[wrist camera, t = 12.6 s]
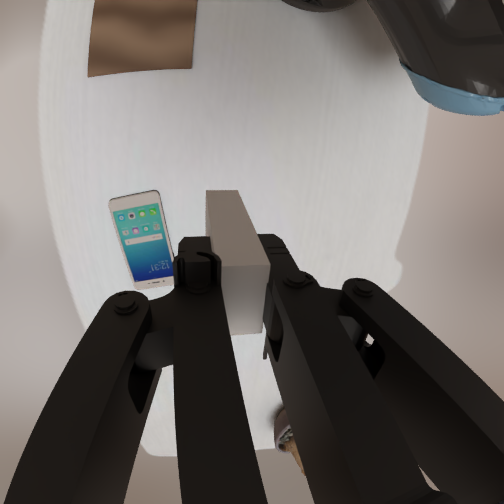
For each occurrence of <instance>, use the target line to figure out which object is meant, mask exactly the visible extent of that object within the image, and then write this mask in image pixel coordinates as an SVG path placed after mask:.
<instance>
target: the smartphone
mask: <svg viewBox="0 0 504 504" xmlns="http://www.w3.org/2000/svg"><path fill="white" fill-rule="evenodd" d="M109 209H110V213H111V217H112V220H113V223H114V227H115V230H116V234H117V237H118V240H119V243H120V246H121V250H122V253H123V256H124V259H125V262H126V265H127V268H128V271H129V273H130V276H131V279H132V282H133V285H134V287H135V289H137V290H141V289H148V288H154V287H161V286H167V285H173V284H174V278H173V266H172V262H173V260H174V258H175V257H174V253H173V252H172V248H171V244H170V240H169V235H168V231H167V227H166V222H165V218H164V213H163V209H162V204H161V199H160V194H159V192H158V191H156V190H152V191H147V192H142V193H137V194H132V195H128V196H123V197H118V198H114V199H111V200H110V201H109Z"/></svg>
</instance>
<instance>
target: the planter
mask: <svg viewBox="0 0 504 504" xmlns="http://www.w3.org/2000/svg"><path fill="white" fill-rule="evenodd" d="M274 442H275V447H276V449H277V450H278V451H280V452H282V453H290V452H291V453H292V454H293V456H294V458H295V460H296V461H297V464H298V465H299V467H300V468H301V470H302V473H303V474H304V475H305V472H304V469H303V466H302V462H301V459H300V456H299V453H298V450H297V447H296V443H295V440H294V437H293V434H292V430H291V427H290V424H289V421H288V418H287V414H286V411H285V408H284V409H283V410H282V411H281V412H280V413H279V415H278V417H277V419H276V421H275V425H274ZM305 476H306V475H305Z"/></svg>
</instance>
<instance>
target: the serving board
mask: <svg viewBox="0 0 504 504" xmlns="http://www.w3.org/2000/svg"><path fill="white" fill-rule="evenodd" d="M196 7H197V0H95V3H94V9H93V17H92V25H91V34H90V44H89V58H88V77H94V76H101V75H108V74H116V73H124V72H134V71H147V70H163V69H191V65H192V51H193V39H194V27H195V17H196Z"/></svg>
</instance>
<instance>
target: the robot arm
mask: <svg viewBox="0 0 504 504" xmlns="http://www.w3.org/2000/svg"><path fill="white" fill-rule="evenodd" d="M282 1H283V2H285V3H287V4H289V5H292V6H294V7H297V8H300V9H303V10H307V11H313V12H331V11H335V10H339V9H341V8H344V7H346V6H348V5H350V4H352V3H354V2H355V1H356V0H282ZM367 2H368V3H369V5H370V6H371V8H372V9H373V11H374V13H375V14H376V16H377V17H378V19H379V21H380V22H381V24H382V26H383V28H384V29H385V31H386V33H387V35H388V37H389V38H390V40H391V42H392V44H393V46H394V48H395V50H396V52H397V54H398V56H399V61H400V63H401V66H402V67H403V68H404V69H405V70H406V72H407V74H408V75H409V77H410V79H411V81H412V83H413V86H414V88H415V89H416V91H417V93H418V94H419V95H420V96H421V97H422V98H423V99H424V100H425V101H427V102H428V103H431V104H432V105H433V106H435V107H437V108H440V109H442V110H445V111H449V112H453V113H458V114H465V115H478V116H479V115H480V116H485V115H494V114H499V113H500V111H504V0H367ZM172 266H173V278H174V289H173V290H172V291H171V292H170V293H169V294H167V295H165V296H163V297H160V298H157V299H153V300H148V298H147V297H146V296H145V295H144V294H142V293H140V292H136V291H123V292H119V293H116V294H114V295H112V296H110V297H109V298H108V299H107V300H106V301H105V302H104V304H103V305H102V307H101V308H100V310H99V312H98V313H97V315H96V316H95V318H94V319H93V321H92V323H91V324H90V326H89V327H88V329H87V331H86V332H85V334H84V336H83V338H82V339H81V341H80V342H79V344H78V346H77V347H76V349H75V351H74V353H73V354H72V356H71V358H70V359H69V361H68V363H67V365H66V367H65V368H64V370H63V372H62V374H61V376H60V377H59V379H58V381H57V383H56V385H55V387H54V389H53V390H52V392H51V394H50V396H49V398H48V401H47V402H46V404H45V406H44V408H43V410H42V412H41V414H40V416H39V418H38V420H37V422H36V425H35V427H34V429H33V431H32V433H31V435H30V438H29V440H28V442H27V444H26V447H25V449H24V451H23V454H22V456H21V458H20V461H19V463H18V466H17V468H16V471H15V473H14V476H13V479H12V482H11V484H10V487H9V489H8V492H7V495H6V498H5V501H4V504H123V503H124V499H125V495H126V491H127V488H128V483H129V480H130V476H131V472H132V469H133V465H134V461H135V458H136V454H137V451H138V447H139V444H140V440H141V437H142V433H143V430H144V427H145V423H146V420H147V417H148V413H149V410H150V407H151V404H152V400H153V397H154V394H155V391H156V388H157V384H158V381H159V378H160V375H161V372H162V368H163V367H166V366H169V365H173V374H174V408H175V428H176V444H177V457H178V469H179V479H180V489H181V498H182V504H268V502H267V498H266V494H265V490H264V486H263V483H262V478H261V475H260V470H259V466H258V462H257V458H256V454H255V449H254V445H253V441H252V436H251V432H250V427H249V423H248V418H247V414H246V409H245V405H244V400H243V395H242V391H241V386H240V381H239V376H238V371H237V366H236V361H235V356H234V351H233V346H232V341H231V336H230V335H244V334H256V333H262V328H263V322H264V325H265V328H266V338H265V345H264V351H263V359H266V358H267V353H268V355H269V358H270V362H271V365H272V368H273V372H274V375H275V378H276V381H277V385H278V388H279V391H280V395H281V398H282V401H283V404H284V408H285V411H286V414H287V418H288V421H289V424H290V427H291V430H292V434H293V437H294V440H295V443H296V447H297V450H298V453H299V456H300V459H301V462H302V466H303V469H304V472H305V475H306V478H307V481H308V485H309V488H310V491H311V494H312V497H313V500H314V503H315V504H504V401H503V400H502V399H501V398H500V397H499V396H498V395H497V394H496V393H495V392H494V391H493V390H492V389H491V388H490V387H489V386H488V385H487V384H486V383H485V382H484V381H483V380H482V379H481V378H480V377H478V375H476V373H474V372H473V371H472V370H471V369H470V368H469V367H468V366H467V365H466V364H465V363H464V362H463V361H462V360H461V359H460V358H459V357H458V356H457V355H456V354H455V353H453V352H452V351H451V350H450V349H449V348H448V347H447V346H446V345H445V344H444V343H443V342H442V341H441V340H439V339H438V338H437V337H436V336H435V335H434V334H433V333H432V332H431V331H429V330H428V329H427V328H426V327H425V326H424V325H423V324H422V323H420V322H419V321H418V320H417V319H416V318H415V317H414V316H413V315H411V314H410V313H409V312H408V311H407V310H406V309H404V308H403V307H402V306H401V305H400V304H399V303H398V302H396V301H395V300H394V299H393V298H392V297H390V296H389V295H388V294H387V293H386V292H385V291H384V290H382V289H381V288H380V287H379V286H378V285H376V284H375V283H373V282H371V281H369V280H366V279H363V278H351V279H348V280H346V281H345V282H344V284H343V286H342V290H338V289H330V288H324V287H320V286H319V284H318V282H317V281H316V279H315V278H314V277H313V276H312V275H310V274H308V273H306V272H304V271H300V270H299V268H298V266H297V265H296V263H295V261H294V259H293V258H292V256H291V254H290V252H289V251H288V249H287V248H286V245H285V244H284V242H283V240H282V239H280V238H279V237H278V236H276V235H275V234H257V233H256V231H255V228H254V226H253V224H252V222H251V219H250V217H249V215H248V213H247V210H246V208H245V206H244V204H243V201H242V199H241V197H240V195H239V192H238V190H206V236H201V237H184V238H183V239H182V240H181V241H180V242H179V244H178V255H177V256H176V257H175V258H174V260H173V262H172ZM368 334H369V335H370V336H371V337H372V338H373V339H374V341H373V344H372V345H371V344H369V343H367V342H366V341H365V340H366V338H367V335H368ZM418 465H419V466H418ZM419 467H420V468H421V469H422V470H423V471H424V472H425V474H426V475H427V476H428V477H429V478H430V480H431V481H432V482H433V483H434V484H435V486H436V487H437V488H438V489H439V490H440V491H436V490H433V489H432V488H431V487H429V485H428V484H427V482H426V480H425V478H424V476H423V474H422V472H421V470H420V468H419Z"/></svg>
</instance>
